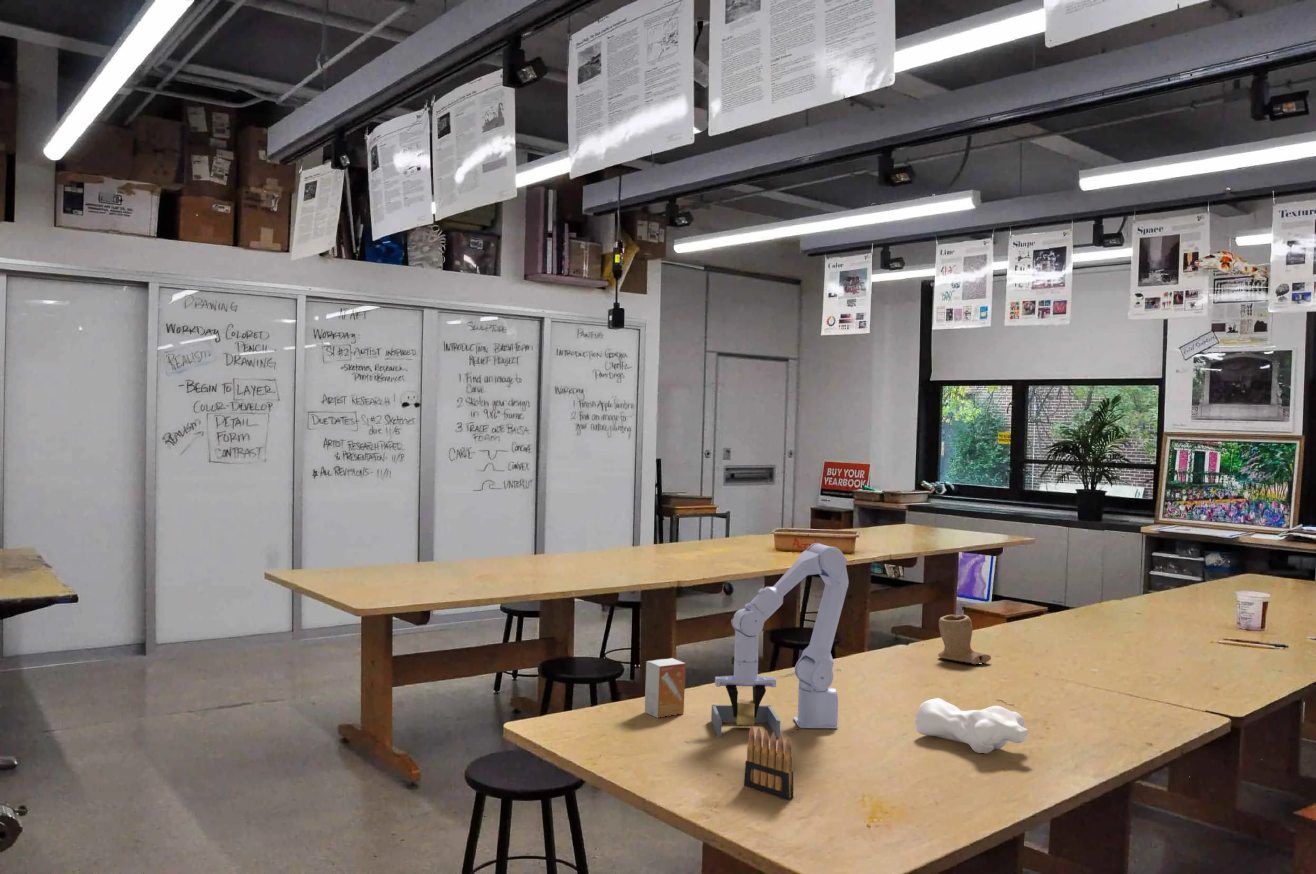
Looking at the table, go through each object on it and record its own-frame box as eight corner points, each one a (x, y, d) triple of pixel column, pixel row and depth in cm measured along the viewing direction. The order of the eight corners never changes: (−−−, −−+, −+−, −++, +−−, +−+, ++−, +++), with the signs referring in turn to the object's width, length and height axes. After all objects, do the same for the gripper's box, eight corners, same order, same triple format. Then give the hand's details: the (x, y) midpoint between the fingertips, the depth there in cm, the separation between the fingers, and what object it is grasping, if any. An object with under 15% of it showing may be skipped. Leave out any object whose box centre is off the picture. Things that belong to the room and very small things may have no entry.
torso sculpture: (907, 747, 224) (1005, 767, 205) (905, 704, 225) (1002, 720, 206) (951, 733, 236) (1047, 751, 217) (949, 692, 237) (1045, 707, 217)
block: (751, 720, 232) (751, 699, 232) (754, 724, 228) (754, 704, 228) (735, 719, 232) (735, 699, 232) (737, 724, 228) (738, 703, 228)
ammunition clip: (743, 785, 192) (745, 726, 192) (749, 783, 193) (750, 724, 193) (788, 800, 185) (789, 738, 185) (793, 797, 186) (795, 736, 186)
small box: (657, 718, 236) (659, 666, 236) (643, 712, 241) (645, 660, 241) (684, 714, 241) (686, 662, 241) (670, 708, 246) (671, 657, 246)
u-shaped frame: (770, 721, 236) (770, 705, 236) (779, 737, 224) (780, 720, 224) (711, 721, 235) (711, 704, 235) (717, 737, 223) (718, 720, 223)
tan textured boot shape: (929, 660, 310) (931, 613, 310) (949, 655, 318) (950, 610, 318) (972, 669, 298) (974, 621, 298) (991, 663, 306) (993, 617, 306)
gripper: (718, 663, 226) (716, 720, 226) (779, 664, 227) (777, 721, 227) (714, 656, 233) (713, 712, 233) (773, 657, 234) (772, 712, 234)
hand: (744, 716), depth 230 cm, fingers closed on block, 4 cm apart
